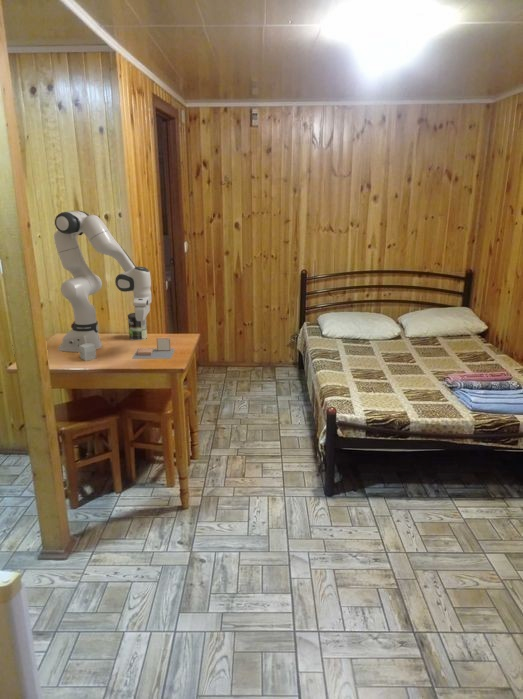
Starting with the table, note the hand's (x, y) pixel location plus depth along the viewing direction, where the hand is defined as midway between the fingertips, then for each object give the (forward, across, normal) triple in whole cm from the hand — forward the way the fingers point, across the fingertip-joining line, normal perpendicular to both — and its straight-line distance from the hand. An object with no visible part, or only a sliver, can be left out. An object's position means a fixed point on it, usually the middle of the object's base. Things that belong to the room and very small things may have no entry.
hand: (143, 324), depth 257 cm
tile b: (+14, -1, +10) cm, 18 cm away
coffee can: (+16, -24, -8) cm, 30 cm away
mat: (+15, +4, +6) cm, 16 cm away
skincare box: (+16, +10, -27) cm, 33 cm away
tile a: (+14, 0, +1) cm, 14 cm away
